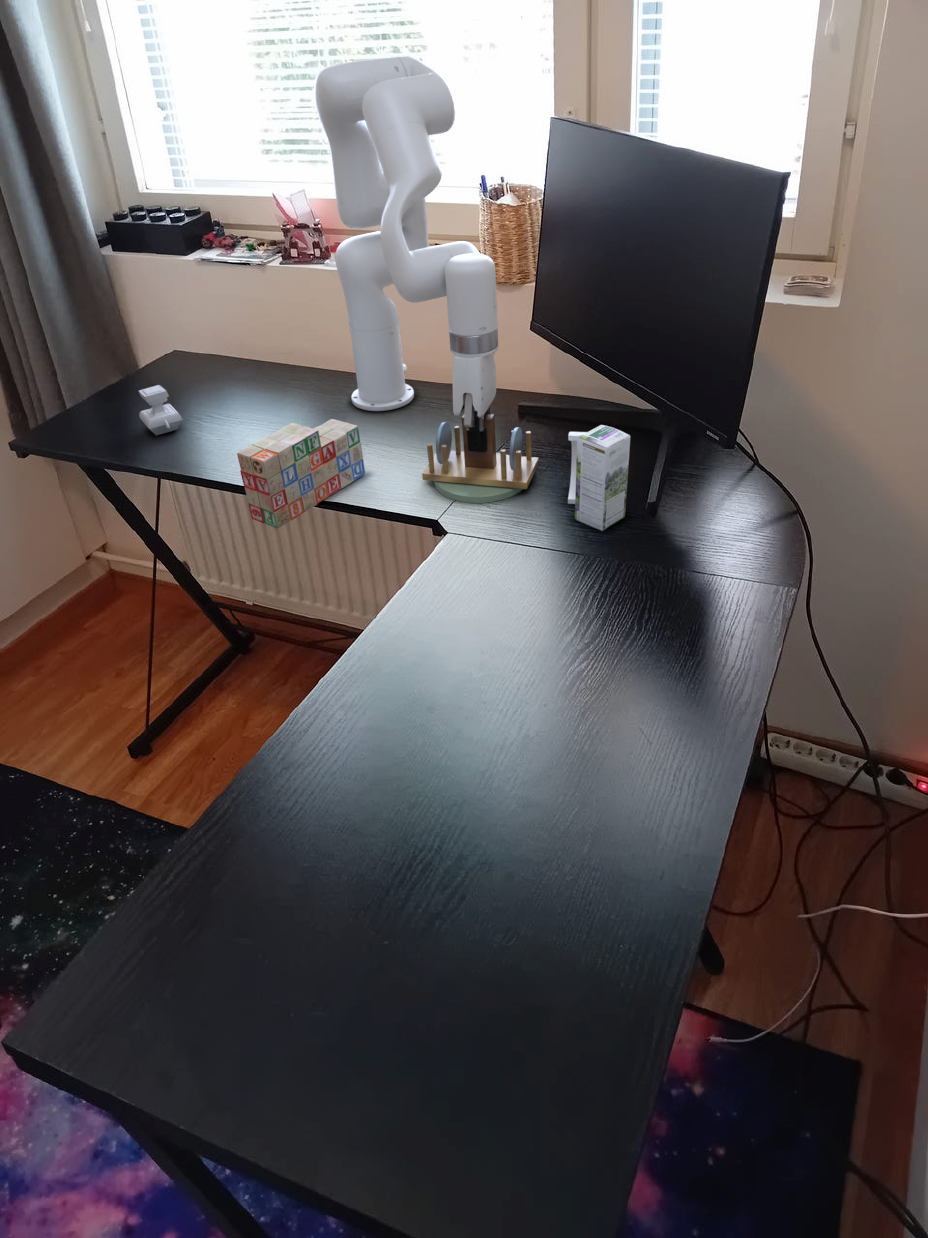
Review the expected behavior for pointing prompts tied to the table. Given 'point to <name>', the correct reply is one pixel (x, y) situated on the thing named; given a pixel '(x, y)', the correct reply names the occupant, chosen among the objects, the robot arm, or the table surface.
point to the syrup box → (601, 476)
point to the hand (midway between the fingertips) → (479, 446)
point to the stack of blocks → (299, 469)
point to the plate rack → (481, 459)
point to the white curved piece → (573, 465)
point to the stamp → (159, 411)
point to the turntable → (474, 492)
